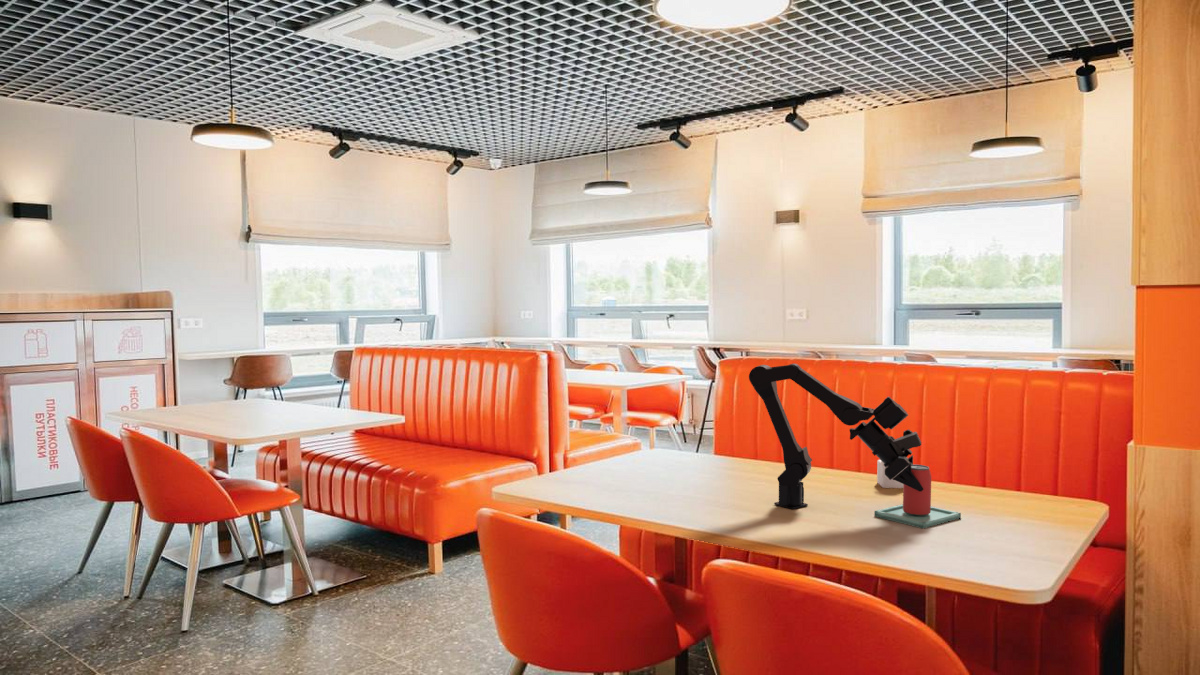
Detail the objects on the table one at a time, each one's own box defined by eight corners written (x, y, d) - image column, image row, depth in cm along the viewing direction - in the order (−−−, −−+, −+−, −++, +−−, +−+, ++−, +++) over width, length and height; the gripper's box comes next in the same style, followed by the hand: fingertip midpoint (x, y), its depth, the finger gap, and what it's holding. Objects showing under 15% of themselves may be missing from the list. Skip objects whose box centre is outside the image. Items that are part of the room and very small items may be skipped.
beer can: (924, 518, 204) (925, 470, 203) (898, 513, 208) (899, 466, 208) (934, 513, 209) (935, 466, 208) (908, 508, 213) (910, 462, 213)
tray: (923, 528, 198) (923, 522, 198) (874, 516, 210) (874, 510, 210) (960, 518, 207) (960, 513, 207) (911, 507, 219) (911, 502, 219)
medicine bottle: (901, 483, 248) (901, 444, 247) (907, 488, 241) (908, 448, 240) (876, 482, 249) (877, 443, 248) (882, 488, 242) (883, 447, 241)
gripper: (900, 425, 201) (947, 474, 197) (904, 416, 218) (947, 460, 214) (865, 455, 204) (911, 503, 200) (872, 443, 221) (914, 487, 217)
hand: (922, 487), depth 208 cm, fingers closed on beer can, 6 cm apart
